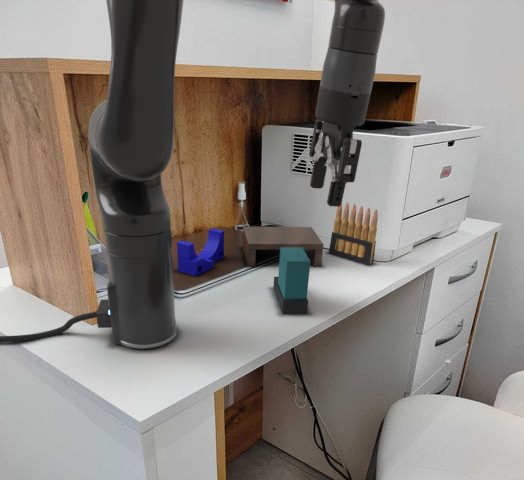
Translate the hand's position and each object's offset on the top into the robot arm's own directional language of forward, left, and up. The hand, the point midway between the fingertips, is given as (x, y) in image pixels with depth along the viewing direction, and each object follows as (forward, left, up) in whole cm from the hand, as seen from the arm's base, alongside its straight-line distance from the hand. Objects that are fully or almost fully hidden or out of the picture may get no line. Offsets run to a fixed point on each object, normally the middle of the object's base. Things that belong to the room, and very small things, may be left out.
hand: (324, 196), depth 81 cm
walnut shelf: (-2, +24, -19) cm, 31 cm away
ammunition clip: (+14, +23, -19) cm, 33 cm away
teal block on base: (-4, +1, -19) cm, 20 cm away
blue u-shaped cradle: (-19, +19, -19) cm, 33 cm away
